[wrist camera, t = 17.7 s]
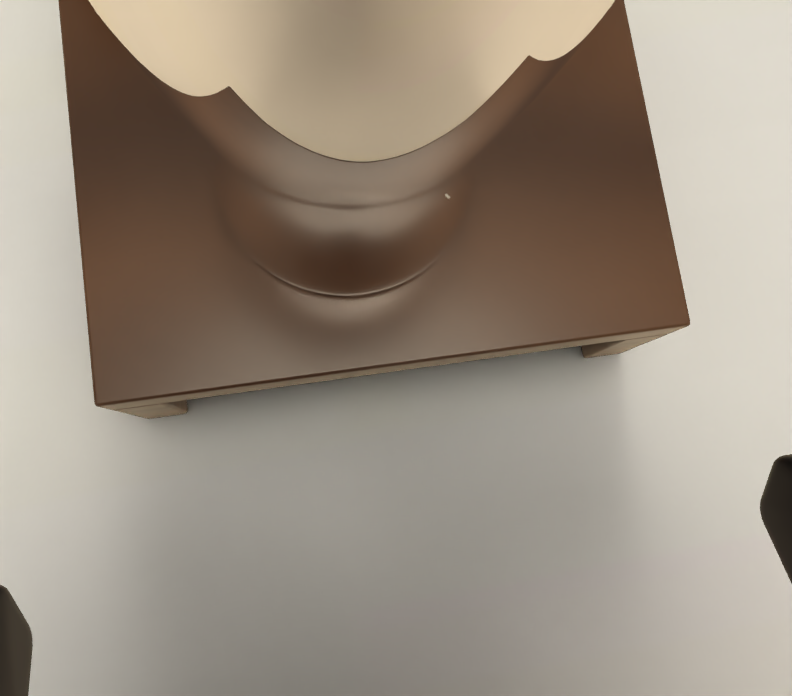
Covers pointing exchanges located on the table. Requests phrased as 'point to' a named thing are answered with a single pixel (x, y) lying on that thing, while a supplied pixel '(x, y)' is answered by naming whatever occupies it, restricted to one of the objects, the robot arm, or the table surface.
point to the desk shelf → (381, 311)
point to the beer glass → (348, 116)
